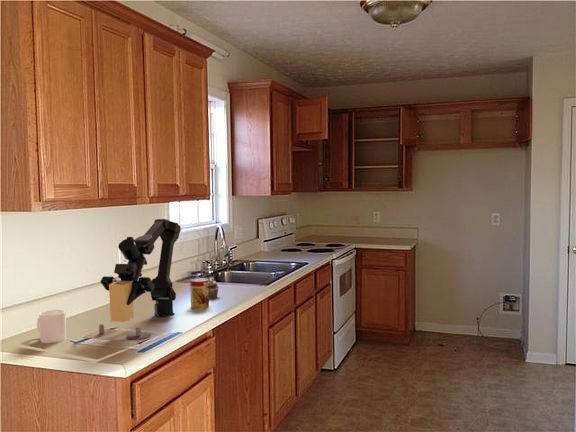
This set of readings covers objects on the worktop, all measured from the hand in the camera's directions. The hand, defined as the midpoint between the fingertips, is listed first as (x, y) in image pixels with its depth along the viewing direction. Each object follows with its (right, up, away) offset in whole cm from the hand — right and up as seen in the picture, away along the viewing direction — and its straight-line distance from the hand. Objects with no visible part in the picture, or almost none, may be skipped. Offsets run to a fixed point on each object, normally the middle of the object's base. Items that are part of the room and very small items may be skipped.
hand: (119, 304), depth 178 cm
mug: (-25, -13, +1) cm, 28 cm away
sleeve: (0, -6, +2) cm, 6 cm away
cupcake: (+21, -8, +66) cm, 70 cm away
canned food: (+20, -9, +48) cm, 53 cm away
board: (-1, -12, +3) cm, 13 cm away
